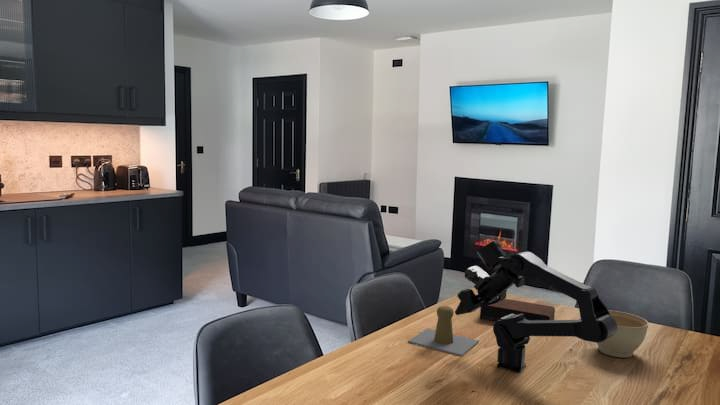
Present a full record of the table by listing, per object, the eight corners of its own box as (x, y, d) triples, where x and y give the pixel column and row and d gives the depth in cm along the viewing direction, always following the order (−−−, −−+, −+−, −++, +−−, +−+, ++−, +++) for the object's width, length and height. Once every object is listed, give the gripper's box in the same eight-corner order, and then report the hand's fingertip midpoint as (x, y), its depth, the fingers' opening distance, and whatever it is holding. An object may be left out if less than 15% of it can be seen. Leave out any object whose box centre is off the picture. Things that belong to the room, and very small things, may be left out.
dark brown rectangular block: (479, 320, 189) (480, 304, 188) (488, 311, 199) (489, 296, 198) (548, 332, 178) (550, 316, 177) (553, 322, 188) (555, 306, 187)
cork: (446, 346, 161) (448, 311, 160) (430, 340, 165) (431, 306, 164) (457, 341, 165) (458, 307, 164) (440, 336, 169) (442, 302, 168)
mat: (479, 342, 166) (479, 340, 166) (462, 356, 155) (462, 354, 155) (427, 329, 176) (427, 328, 176) (407, 342, 164) (407, 340, 164)
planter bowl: (653, 365, 152) (656, 329, 151) (593, 359, 155) (596, 324, 154) (635, 345, 168) (638, 312, 167) (582, 340, 171) (584, 307, 170)
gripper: (499, 254, 160) (466, 282, 169) (464, 263, 147) (431, 293, 156) (521, 285, 155) (487, 312, 164) (488, 297, 142) (452, 326, 151)
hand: (464, 310), depth 159 cm, fingers open, 9 cm apart
